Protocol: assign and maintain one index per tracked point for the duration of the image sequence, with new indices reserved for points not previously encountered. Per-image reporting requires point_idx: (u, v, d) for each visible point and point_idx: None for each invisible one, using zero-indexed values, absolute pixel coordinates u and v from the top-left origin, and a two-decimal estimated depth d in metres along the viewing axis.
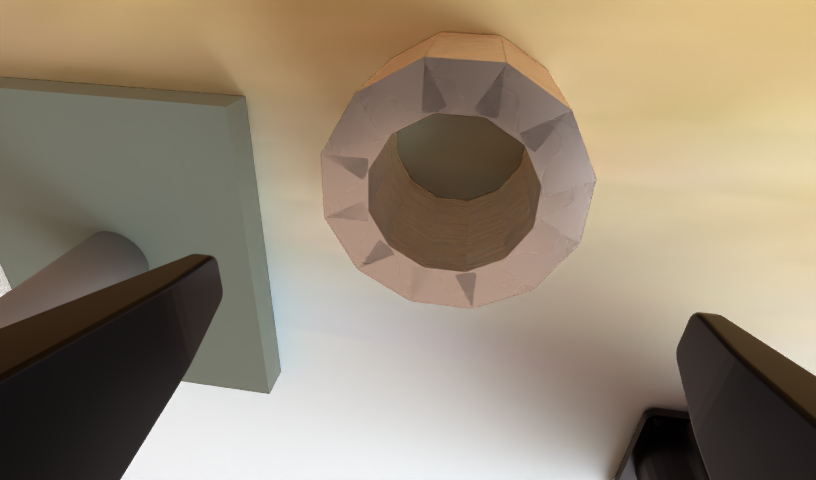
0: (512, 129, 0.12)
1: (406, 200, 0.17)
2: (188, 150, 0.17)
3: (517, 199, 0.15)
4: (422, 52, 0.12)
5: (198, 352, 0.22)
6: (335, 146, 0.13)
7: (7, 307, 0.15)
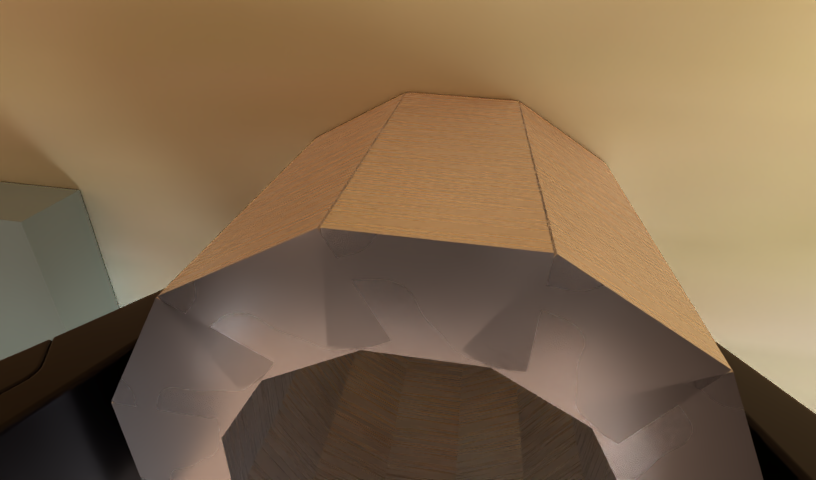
0: (562, 396, 0.04)
1: (349, 380, 0.10)
2: None
3: (549, 406, 0.08)
4: (339, 178, 0.05)
5: None
6: (139, 391, 0.05)
7: None
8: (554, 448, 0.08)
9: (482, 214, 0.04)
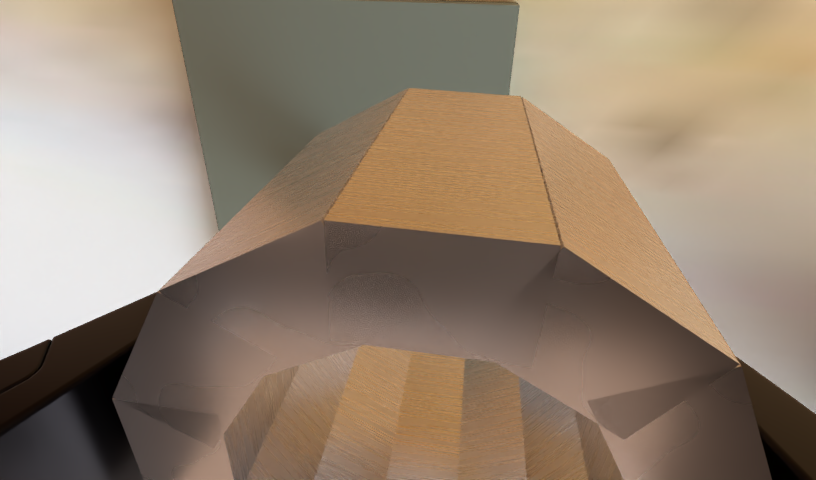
0: (568, 392, 0.04)
1: (351, 377, 0.09)
2: (462, 59, 0.16)
3: (552, 404, 0.08)
4: (342, 172, 0.05)
5: None
6: (140, 387, 0.05)
7: None
8: (557, 445, 0.07)
9: (487, 207, 0.04)
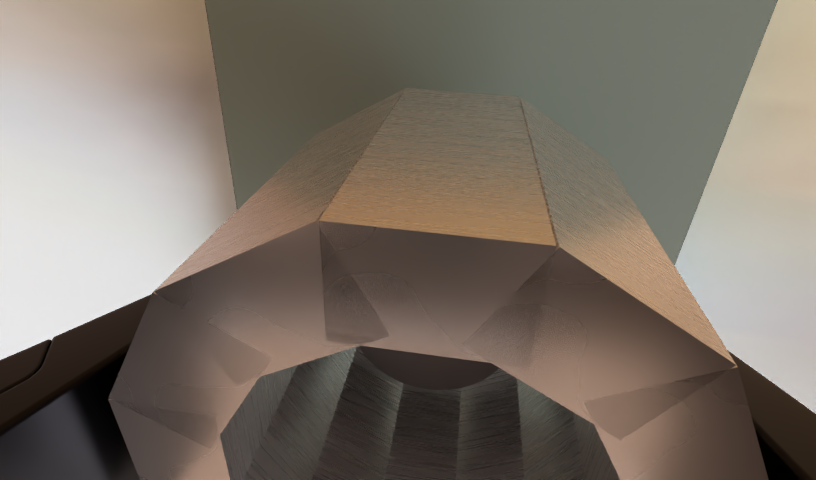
0: (564, 392, 0.04)
1: (349, 378, 0.09)
2: None
3: (551, 403, 0.08)
4: (338, 172, 0.05)
5: None
6: (136, 388, 0.05)
7: None
8: (555, 446, 0.07)
9: (483, 207, 0.04)
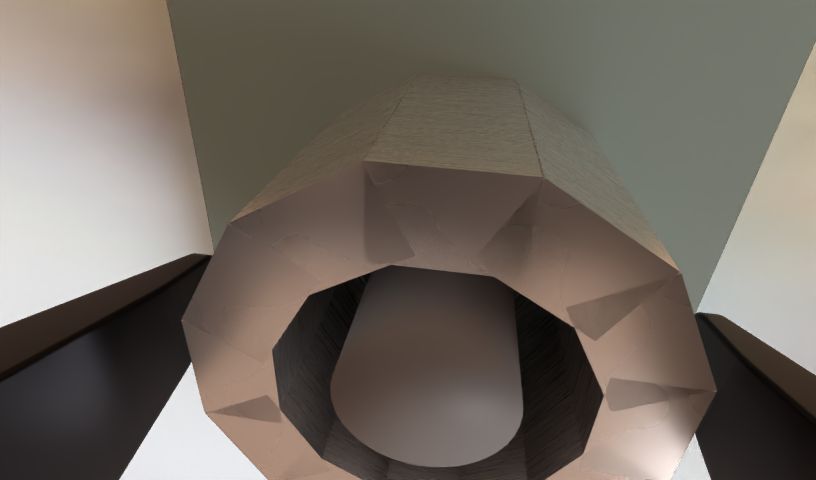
0: (550, 300, 0.06)
1: None
2: None
3: (543, 347, 0.09)
4: (370, 133, 0.06)
5: None
6: (206, 309, 0.07)
7: (440, 335, 0.06)
8: (547, 378, 0.09)
9: (487, 154, 0.05)
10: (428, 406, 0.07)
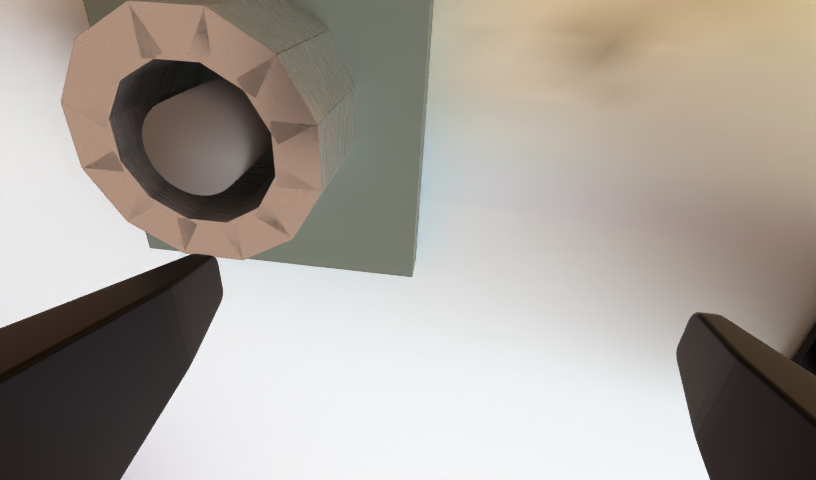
0: (228, 74, 0.12)
1: None
2: None
3: None
4: None
5: (336, 226, 0.20)
6: (72, 94, 0.13)
7: (186, 101, 0.12)
8: None
9: (192, 2, 0.12)
10: (193, 150, 0.13)
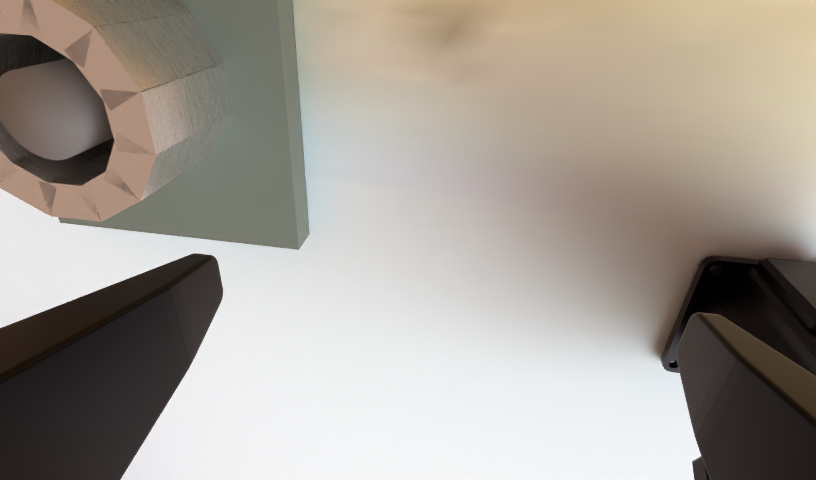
0: (57, 46, 0.13)
1: None
2: None
3: None
4: None
5: (224, 200, 0.21)
6: None
7: (26, 71, 0.14)
8: None
9: None
10: (40, 117, 0.15)
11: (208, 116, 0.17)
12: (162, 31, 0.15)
